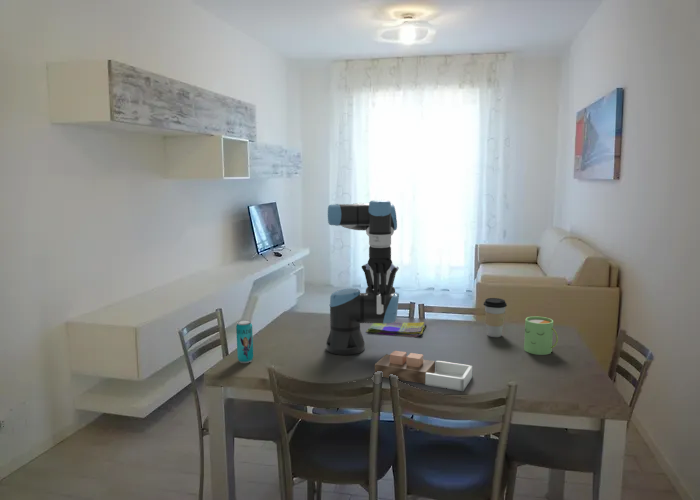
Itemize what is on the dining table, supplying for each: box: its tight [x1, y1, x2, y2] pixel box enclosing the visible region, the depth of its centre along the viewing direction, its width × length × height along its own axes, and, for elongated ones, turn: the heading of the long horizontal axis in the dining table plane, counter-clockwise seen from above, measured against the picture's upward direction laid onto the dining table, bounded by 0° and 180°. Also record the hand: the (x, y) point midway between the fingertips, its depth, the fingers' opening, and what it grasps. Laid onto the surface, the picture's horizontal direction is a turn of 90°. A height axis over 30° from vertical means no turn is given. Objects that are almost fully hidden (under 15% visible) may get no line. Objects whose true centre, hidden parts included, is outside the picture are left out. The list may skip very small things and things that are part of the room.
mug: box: [523, 315, 559, 356], centre depth 211 cm, size 13×10×12 cm
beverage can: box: [235, 319, 254, 364], centre depth 203 cm, size 6×6×15 cm
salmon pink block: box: [389, 350, 408, 365], centre depth 190 cm, size 4×4×3 cm
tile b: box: [406, 352, 424, 367], centre depth 188 cm, size 4×4×3 cm
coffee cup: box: [483, 297, 508, 338], centre depth 230 cm, size 9×9×15 cm
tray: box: [424, 360, 474, 392], centre depth 183 cm, size 12×13×4 cm
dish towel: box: [365, 321, 427, 338], centre depth 241 cm, size 18×24×3 cm
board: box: [374, 353, 436, 385], centre depth 190 cm, size 18×11×4 cm, turn 65°
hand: (380, 313), depth 191 cm, fingers closed
